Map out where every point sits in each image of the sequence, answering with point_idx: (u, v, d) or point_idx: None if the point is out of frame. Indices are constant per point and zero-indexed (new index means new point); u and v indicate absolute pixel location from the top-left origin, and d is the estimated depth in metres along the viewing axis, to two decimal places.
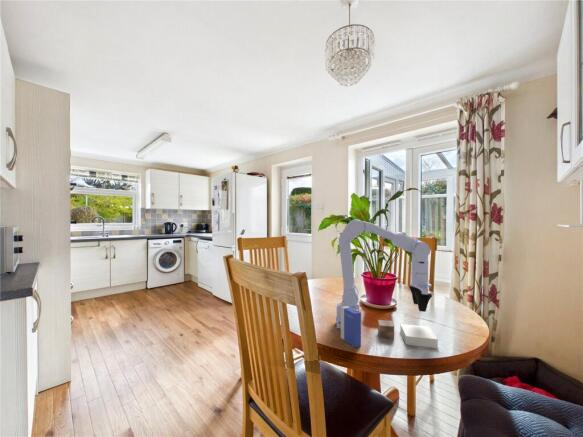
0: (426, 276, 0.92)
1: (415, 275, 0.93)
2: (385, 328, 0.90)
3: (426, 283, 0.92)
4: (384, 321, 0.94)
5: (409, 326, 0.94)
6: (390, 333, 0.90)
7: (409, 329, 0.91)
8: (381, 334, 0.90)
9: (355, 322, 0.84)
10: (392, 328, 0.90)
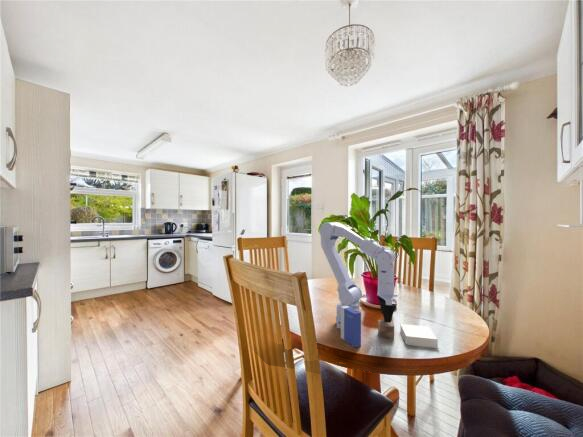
0: (391, 286, 0.90)
1: (381, 285, 0.91)
2: (385, 328, 0.90)
3: (392, 293, 0.90)
4: (384, 321, 0.94)
5: (409, 326, 0.94)
6: (390, 333, 0.90)
7: (409, 329, 0.91)
8: (381, 334, 0.90)
9: (355, 322, 0.84)
10: (392, 328, 0.90)
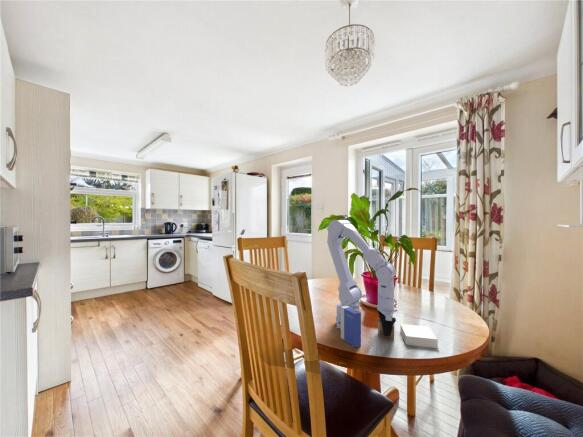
0: (391, 301, 0.90)
1: (381, 299, 0.91)
2: None
3: (392, 308, 0.90)
4: None
5: (409, 326, 0.94)
6: None
7: (409, 329, 0.91)
8: (381, 334, 0.90)
9: (355, 322, 0.84)
10: (392, 328, 0.90)
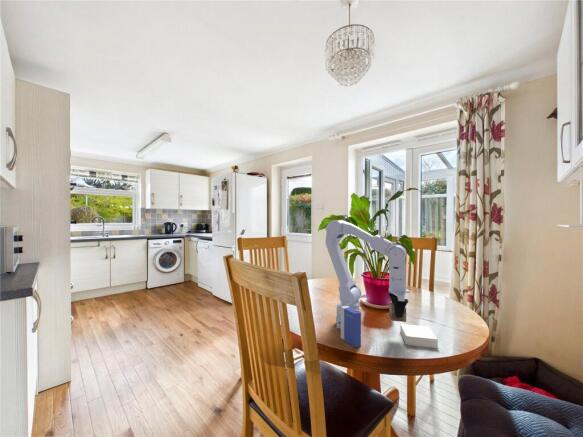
0: (403, 282, 0.89)
1: (392, 281, 0.90)
2: None
3: (404, 289, 0.89)
4: None
5: (409, 326, 0.94)
6: None
7: (409, 329, 0.91)
8: (393, 316, 0.89)
9: (355, 322, 0.84)
10: (404, 310, 0.89)
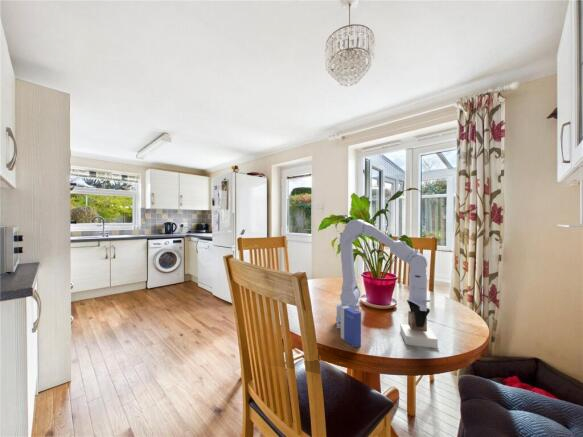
0: (424, 291, 0.87)
1: (413, 290, 0.88)
2: None
3: (424, 298, 0.87)
4: None
5: None
6: None
7: (409, 329, 0.91)
8: (413, 325, 0.88)
9: (355, 322, 0.84)
10: None
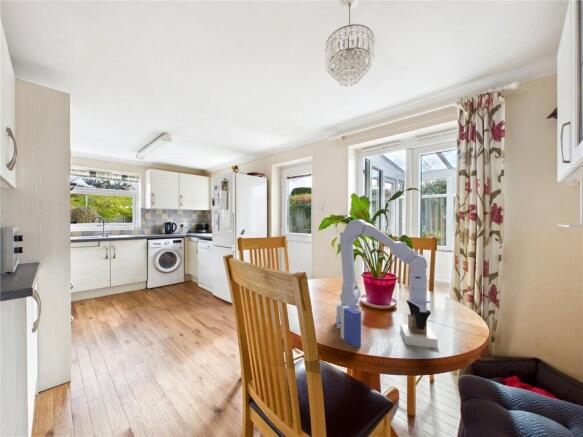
0: (424, 292, 0.87)
1: (413, 291, 0.88)
2: None
3: (424, 299, 0.87)
4: None
5: None
6: None
7: None
8: (413, 329, 0.88)
9: (355, 322, 0.84)
10: None
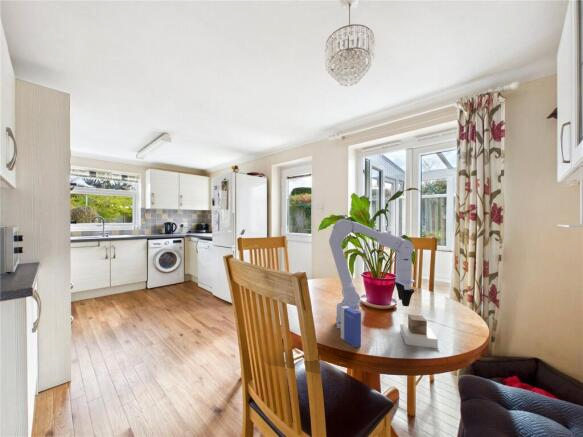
0: (409, 272, 0.96)
1: (399, 271, 0.97)
2: (417, 323, 0.88)
3: (409, 279, 0.96)
4: (415, 315, 0.91)
5: None
6: (423, 327, 0.87)
7: None
8: (413, 329, 0.88)
9: (355, 322, 0.84)
10: (424, 322, 0.87)
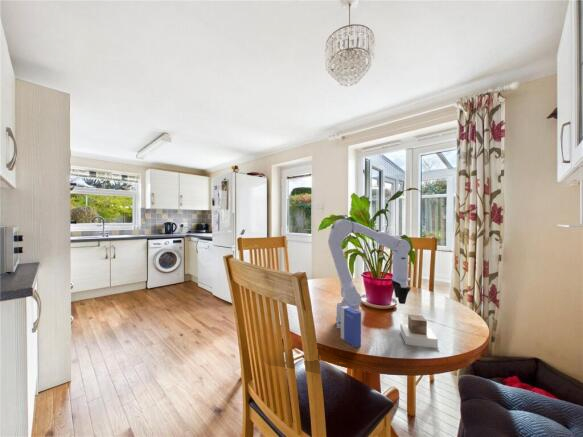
0: (405, 271, 0.99)
1: (395, 270, 1.00)
2: (417, 323, 0.88)
3: (406, 277, 0.99)
4: (415, 315, 0.91)
5: None
6: (423, 327, 0.87)
7: None
8: (413, 329, 0.88)
9: (355, 322, 0.84)
10: (424, 322, 0.87)
